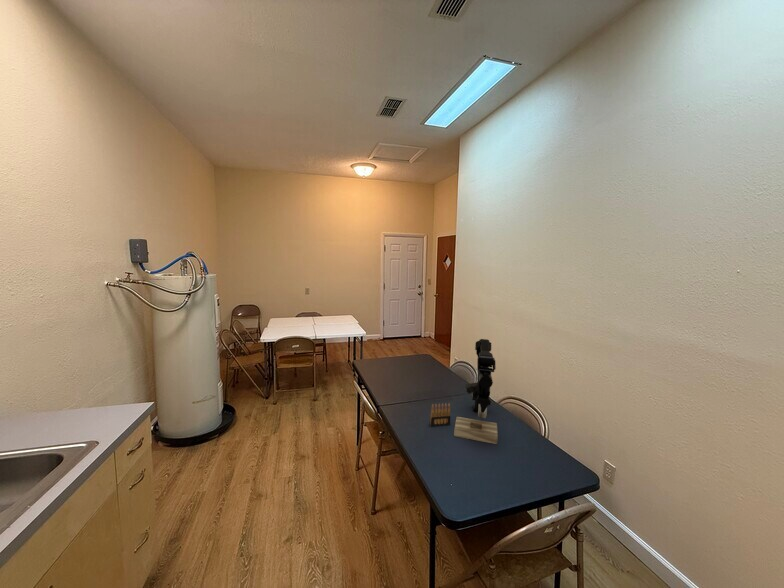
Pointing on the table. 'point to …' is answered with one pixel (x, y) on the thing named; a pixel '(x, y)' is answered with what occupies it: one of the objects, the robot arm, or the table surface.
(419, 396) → the table surface
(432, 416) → the ammunition clip
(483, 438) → the hole block
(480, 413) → the metal peg
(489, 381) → the robot arm
